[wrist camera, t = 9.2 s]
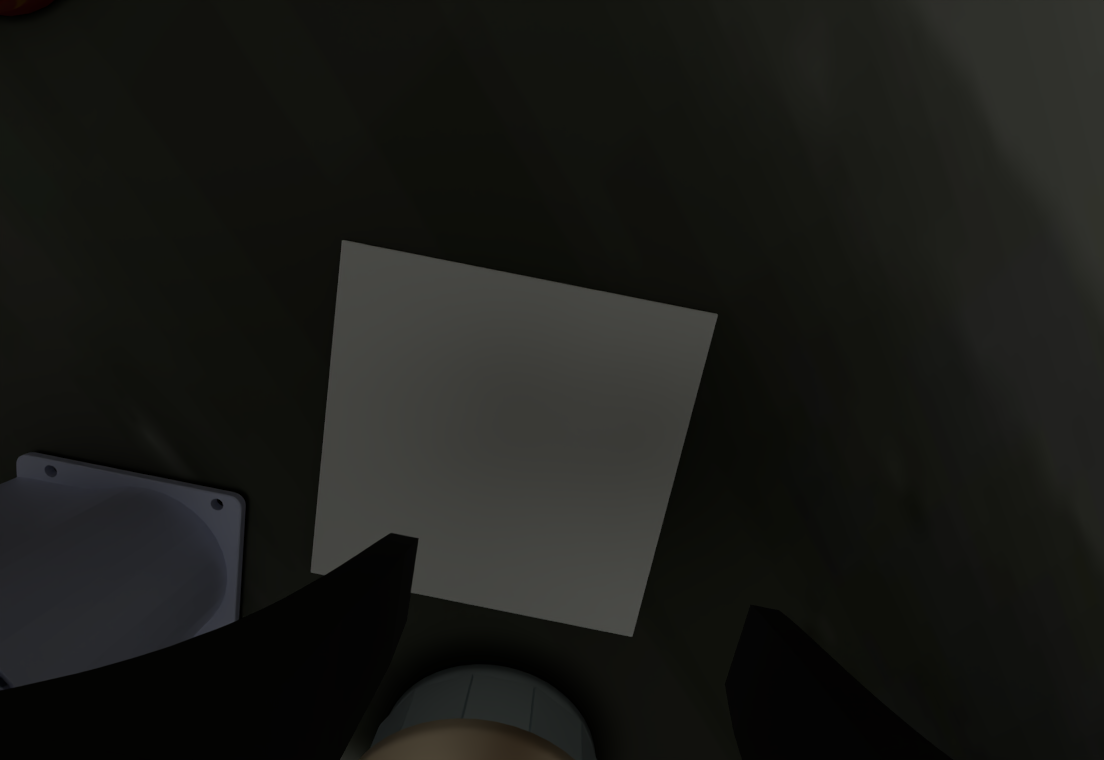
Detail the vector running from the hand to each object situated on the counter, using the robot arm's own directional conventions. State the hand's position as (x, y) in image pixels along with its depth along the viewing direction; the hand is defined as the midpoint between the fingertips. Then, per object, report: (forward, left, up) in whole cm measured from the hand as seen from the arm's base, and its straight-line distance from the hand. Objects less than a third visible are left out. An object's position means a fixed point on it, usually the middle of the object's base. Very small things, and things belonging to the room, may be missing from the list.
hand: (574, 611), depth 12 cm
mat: (-3, -1, -10) cm, 11 cm away
